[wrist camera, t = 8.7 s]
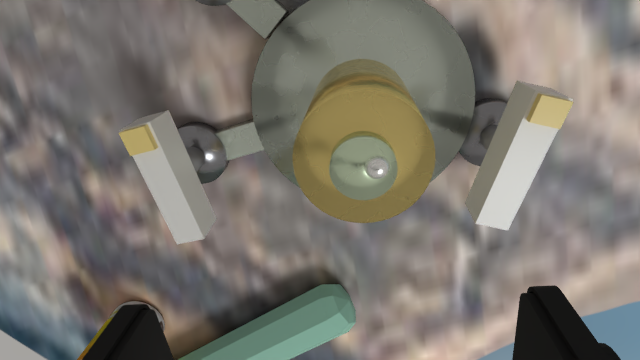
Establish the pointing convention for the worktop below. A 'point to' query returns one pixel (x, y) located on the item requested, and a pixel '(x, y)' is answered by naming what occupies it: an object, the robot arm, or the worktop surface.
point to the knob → (171, 175)
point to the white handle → (515, 152)
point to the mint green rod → (286, 328)
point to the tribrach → (354, 103)
